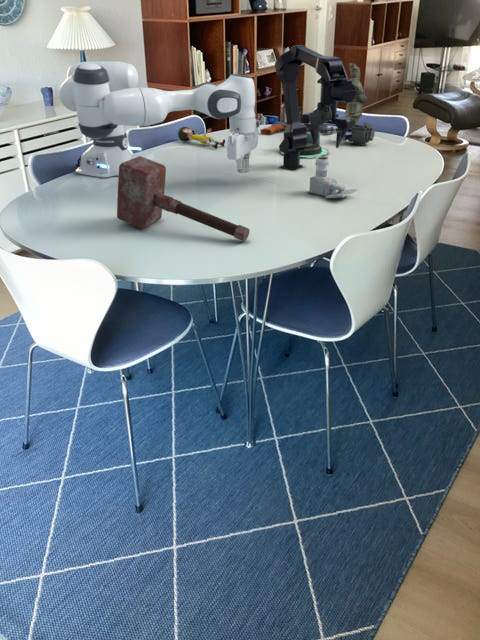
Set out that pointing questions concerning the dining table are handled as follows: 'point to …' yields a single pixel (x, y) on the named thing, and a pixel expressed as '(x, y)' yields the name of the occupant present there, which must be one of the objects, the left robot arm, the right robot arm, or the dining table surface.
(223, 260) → the dining table surface
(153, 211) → the sledgehammer
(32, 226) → the dining table surface
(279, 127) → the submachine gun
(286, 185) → the dining table surface
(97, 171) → the left robot arm
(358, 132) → the toy
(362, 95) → the statue
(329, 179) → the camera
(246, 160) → the can
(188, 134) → the figurine
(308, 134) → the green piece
